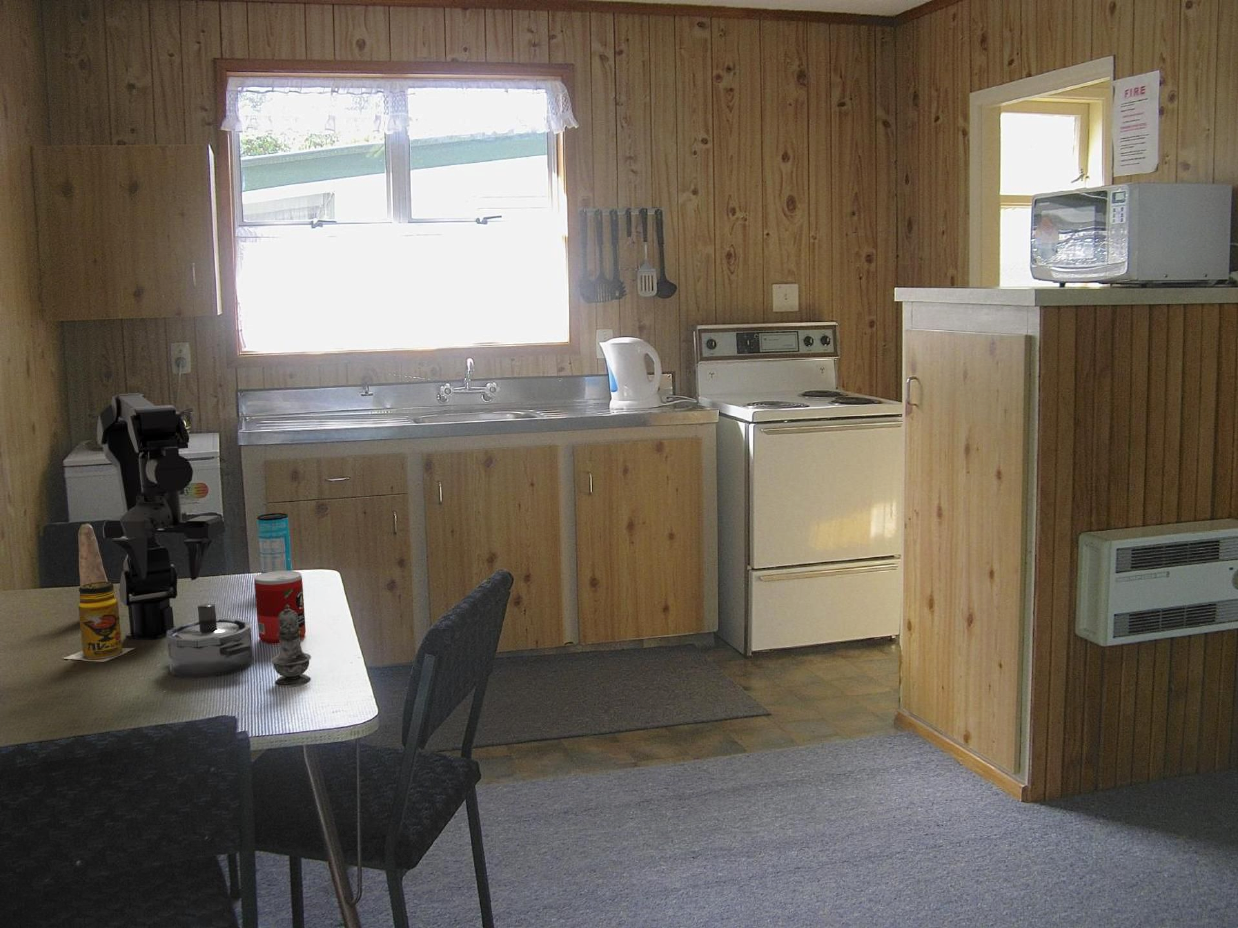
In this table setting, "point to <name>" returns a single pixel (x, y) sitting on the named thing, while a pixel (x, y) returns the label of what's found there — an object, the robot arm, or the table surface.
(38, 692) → the table surface
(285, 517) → the beverage can
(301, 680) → the salt shaker
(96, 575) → the pink tall tapered cone
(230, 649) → the pot
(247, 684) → the table surface
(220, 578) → the table surface
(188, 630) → the lid
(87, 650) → the condiment
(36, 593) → the table surface
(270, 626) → the canned food
